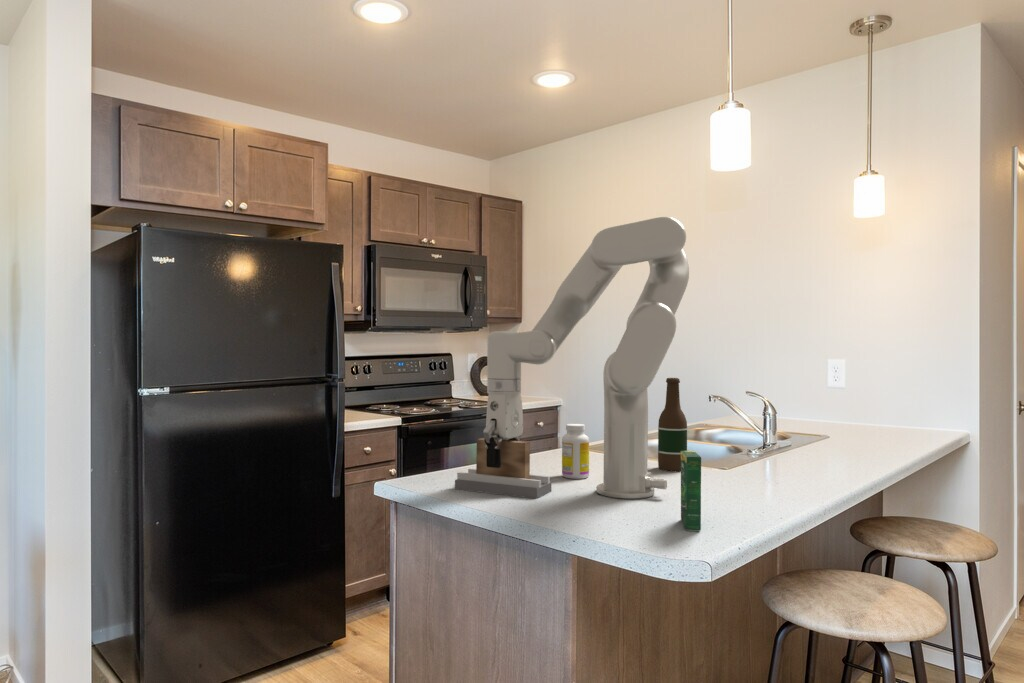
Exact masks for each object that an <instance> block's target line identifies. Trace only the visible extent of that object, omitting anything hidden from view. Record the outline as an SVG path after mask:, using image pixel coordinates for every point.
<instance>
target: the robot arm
mask: <svg viewBox="0 0 1024 683" xmlns="http://www.w3.org/2000/svg"><path fill="white" fill-rule="evenodd" d="M686 240H687V233H686V230H685V227H684V225H683V224H682V223H681V222H680V221H679V220H677V219H676V218H674V217H670V216H658V217H654V218H649V219H644V220H639V221H635V222H630V223H624V224H620V225H614V226H611V227H610V226H609V227H607V228H603V229H601V230H600V231H598V233H596V235H594V237H593V238H592V242H591V243H590V244H589V246H588V247H587V249H586V250H585V252H584V253H583V255H581V256H580V258H579V260H578V261H577V263H576V264H575V266H573V268H572V269H571V270H570V272H569V273H568V275H566V277H565V278H564V280H563V281H562V283H561V284H560V286H559V287H558V289H557V290H556V293H555V294H554V298H553V300H552V301H551V303H550V304H549V306H548V308H547V309H546V311H545V312H544V313H543V315H542V316H541V317H540V319H539V320H538V321H537V323H536V325H535V326H534V327H533V329H532V330H530V331H522V332H517V331H510V330H502V331H501V330H500V331H499V330H498V331H497V330H496V331H491V332H490V333H489V334H488V336H487V347H486V348H487V352H486V353H487V354H486V356H487V365H486V366H487V367H486V369H487V370H486V371H487V374H486V375H487V376H486V378H487V380H486V381H487V383H486V385H487V386H486V389H487V390H486V393H487V394H488V397H487V401H486V402H487V403H486V418H485V420H486V421H485V427H484V428H483V430H482V431H483V432H482V433H483V438H485V439H484V440H485V443H486V449H487V467H493V468H500V467H501V449H499V447H500V444H501V441H502V440H513V441H522V438H521V436H522V435H523V434H524V414H523V412H524V411H523V410H524V409H523V400H522V391H521V390H522V364H523V363H524V364H531V365H538V366H539V365H544V364H546V363H548V362H550V361H551V359H553V358H554V355H555V354H556V352H557V350H559V348H560V347H561V345H562V344H563V343H564V342H565V341H566V338H567V337H568V336H569V335H570V333H571V332H572V331H573V329H574V328H575V327H576V326H577V324H579V322H580V321H581V320H582V319H583V318H584V317H585V316H587V314H588V313H589V312H590V310H591V309H592V308H593V306H595V304H596V302H597V301H598V300H599V298H600V297H601V295H602V294H603V293H604V292H605V290H607V288H608V286H609V285H610V284H611V282H612V281H613V279H615V277H616V275H618V273H619V271H620V270H621V269H622V267H624V266H626V265H633V264H638V263H644V262H648V264H649V275H648V277H647V279H646V282H645V284H644V287H643V289H642V291H641V294H640V295H639V298H638V299H637V301H636V304H635V305H634V307H633V309H632V311H631V312H630V314H629V316H628V317H627V320H626V328H625V330H624V333H623V334H622V337H621V338H620V340H619V344H618V345H617V348H616V349H615V351H614V352H612V353H611V354H610V355H609V356H608V357H607V359H606V361H605V362H604V365H603V373H602V374H603V405H604V408H603V410H604V412H603V480H602V481H603V483H600V484H597V485H596V493H597V494H599V495H601V496H605V497H610V498H615V499H645V498H650V497H652V496H654V495H655V489H657V490H667V488H668V481H667V480H665V479H663V478H654V477H653V476H652V471H648V459H649V458H648V446H649V444H648V443H649V442H648V438H649V433H648V432H649V430H648V429H649V424H648V423H649V397H648V396H649V395H648V388H649V387H650V386H651V384H652V382H653V381H654V379H655V378H656V375H657V374H658V371H659V369H660V367H661V365H662V362H663V361H664V360H665V356H666V355H667V353H668V350H669V348H670V346H671V345H672V342H673V339H674V337H675V335H676V330H677V319H676V316H675V315H676V313H677V312H678V308H679V306H680V304H681V301H682V299H683V297H684V294H685V292H686V290H687V287H688V282H689V279H690V267H689V262H688V258H687V255H686V253H685V250H684V249H683V248H684V246H685V245H686V244H685V243H686V242H687V241H686ZM495 440H497V441H496V442H495Z"/></svg>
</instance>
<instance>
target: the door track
mask: <svg viewBox="0 0 1024 683" xmlns="http://www.w3.org/2000/svg"><path fill="white" fill-rule="evenodd" d="M456 475H457V476H456V477H457V478H456V479H454V490H461V491H469V492H477V493H487V494H496V495H501V496H503V495H504V496H511V497H521V498H529V499H530V498H531V499H536V498H537V499H539V498H541V497H543V496H546V495H548V494H549V493H551V492H552V490H553V489H552V481H551V476H549V475H541V474H531V473H530V479H524V478H514V477H505V476H495V475H485V474H476V468H472V467H469V468H468V469H467V471H458V472H456Z"/></svg>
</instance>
